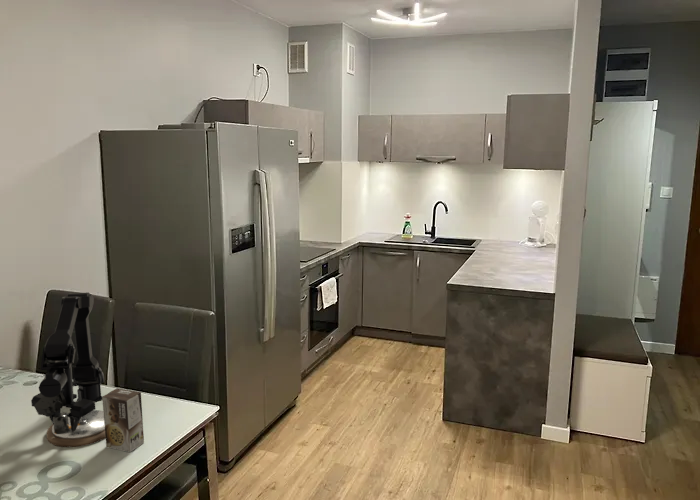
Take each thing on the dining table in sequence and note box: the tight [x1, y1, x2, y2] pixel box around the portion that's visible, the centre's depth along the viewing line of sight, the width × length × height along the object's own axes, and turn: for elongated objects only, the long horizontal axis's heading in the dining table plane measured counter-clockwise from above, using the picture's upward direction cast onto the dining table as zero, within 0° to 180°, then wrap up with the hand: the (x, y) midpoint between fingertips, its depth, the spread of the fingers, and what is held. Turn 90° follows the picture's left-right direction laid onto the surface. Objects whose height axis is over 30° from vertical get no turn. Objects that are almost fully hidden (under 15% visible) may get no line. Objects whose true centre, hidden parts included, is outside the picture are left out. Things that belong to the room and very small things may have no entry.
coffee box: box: [101, 387, 145, 453], centre depth 165 cm, size 9×6×16 cm
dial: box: [52, 409, 105, 440], centre depth 174 cm, size 17×17×6 cm
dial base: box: [46, 423, 106, 448], centre depth 175 cm, size 20×20×2 cm
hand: (65, 429), depth 169 cm, fingers open, 6 cm apart
